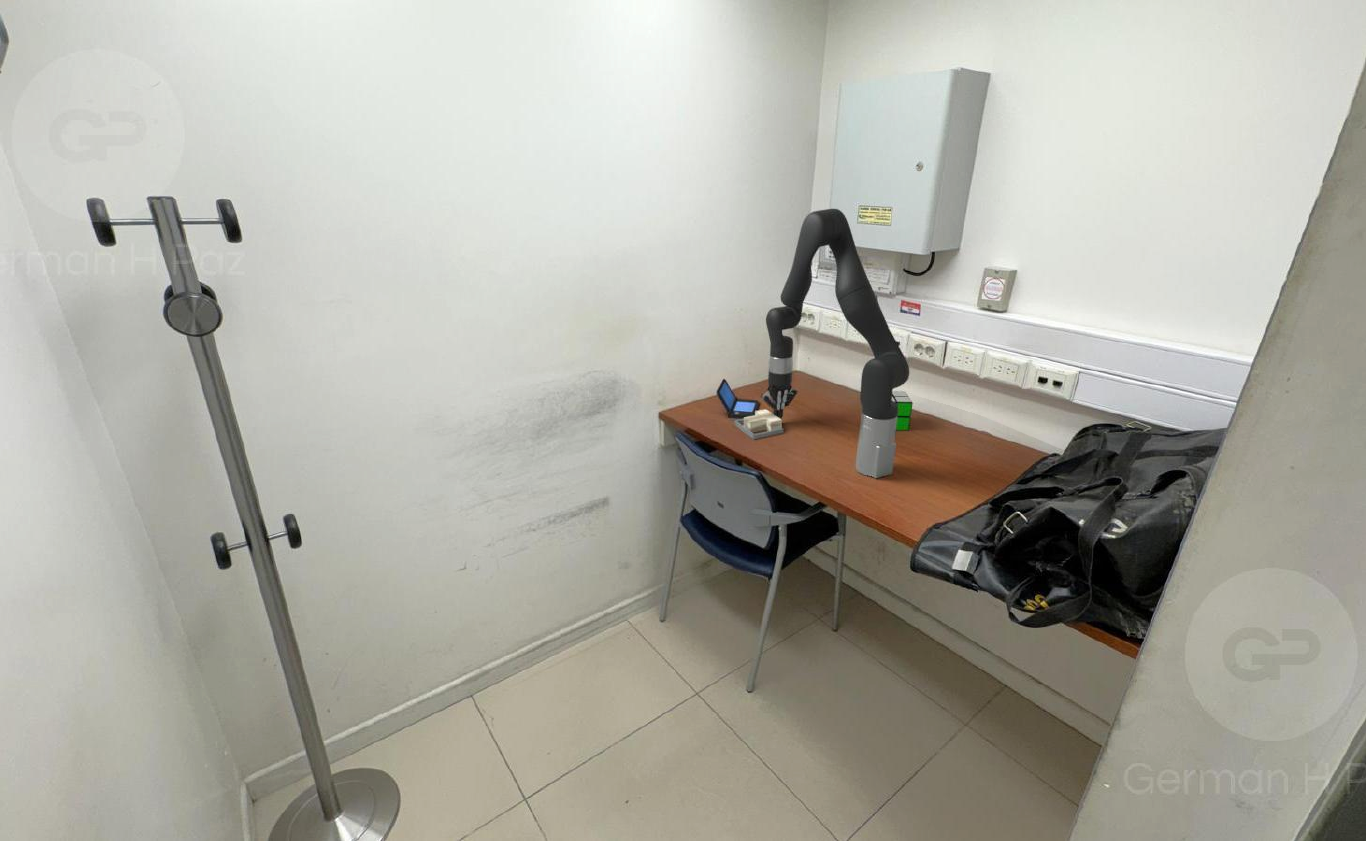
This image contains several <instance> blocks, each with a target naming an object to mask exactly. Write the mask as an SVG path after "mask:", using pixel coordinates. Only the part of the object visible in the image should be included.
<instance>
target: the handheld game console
mask: <svg viewBox="0 0 1366 841" xmlns="http://www.w3.org/2000/svg"><path fill="white" fill-rule="evenodd" d="M716 395H717V397H718V399H719V401H720V403H721V404H722V406H723V407H724V409H725V411H726V413H727V415H726V416H727V418H734V419H744V417H749V416H754V415H755V411H758V409H759V405H760V401H759V400H758V399H756V400H755V399H749V398H748V399H747V398H746V399H745V398H738V397H737V396H736V394H735V393H734V391H733V390H732V388H731V387H730V385H729V383H728V381H727V380H726V378H723V379H722V380H721V383H720V384H719V386H718V387H717V390H716Z"/></svg>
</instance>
